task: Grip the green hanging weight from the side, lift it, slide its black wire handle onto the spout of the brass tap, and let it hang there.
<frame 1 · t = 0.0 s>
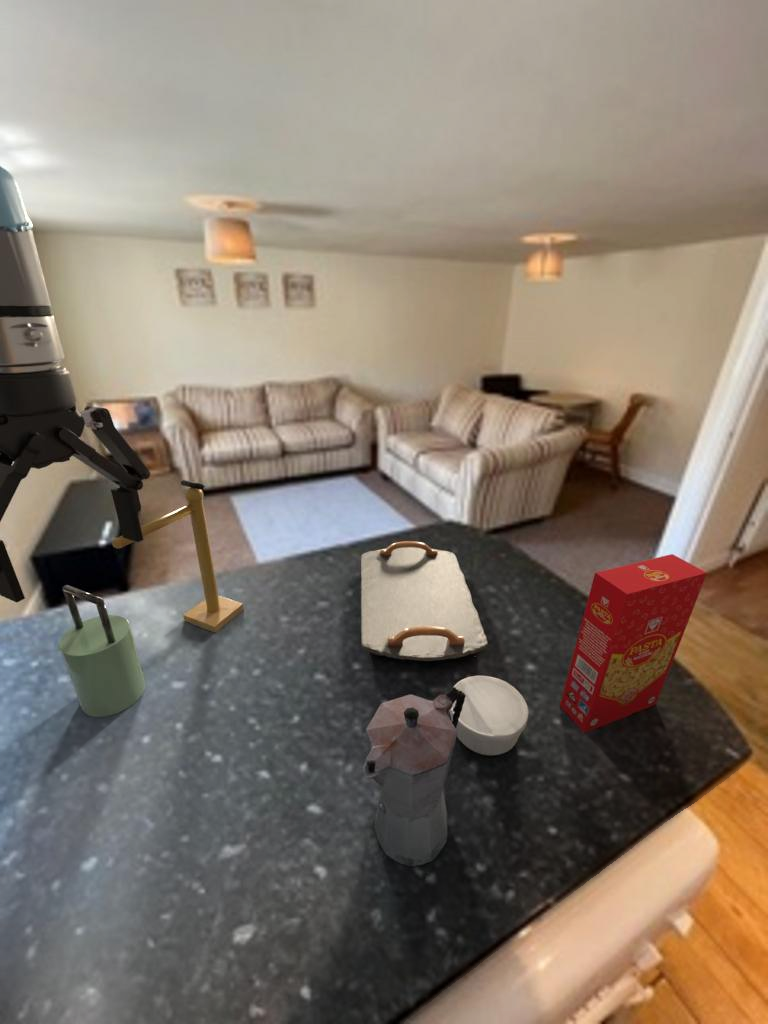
hand: (79, 564, 50), 30 cm above the worktop, tool pointing down, fingers open, 13 cm apart
moka pot: (411, 823, 55), on the worktop
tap: (214, 615, 89), on the worktop
serving tray: (415, 604, 94), on the worktop
green hanging weight: (114, 693, 71), on the worktop
ramekin: (483, 730, 67), on the worktop
food packaging: (607, 706, 71), on the worktop
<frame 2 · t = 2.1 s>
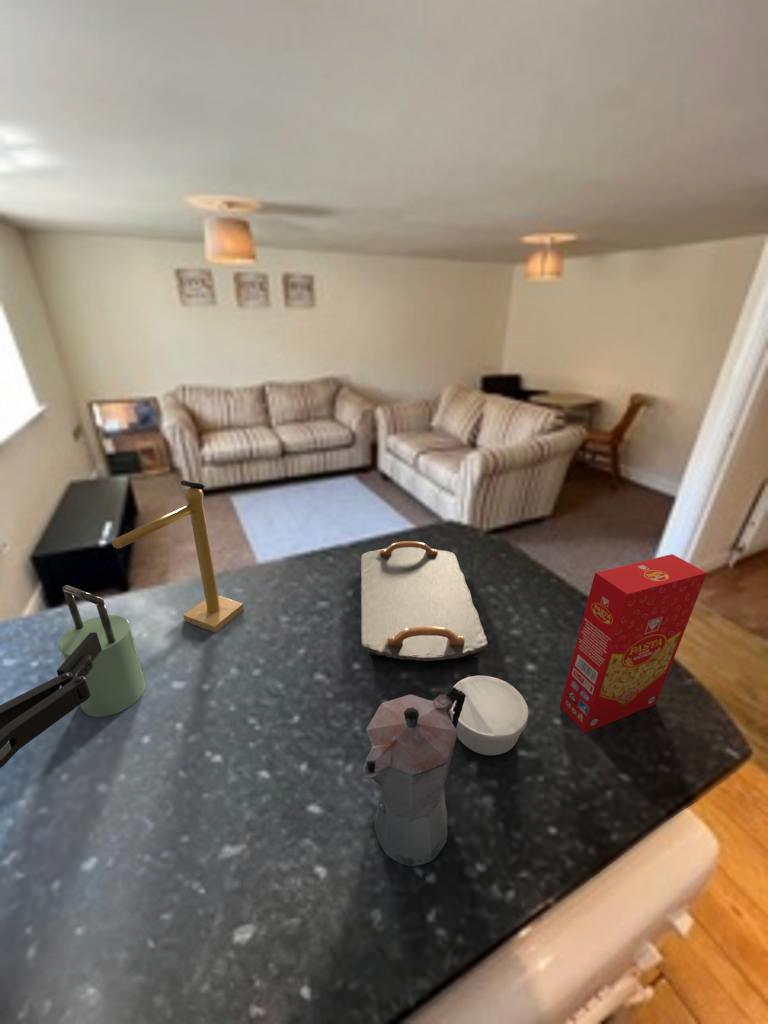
hand: (40, 642, 55), 18 cm above the worktop, tool horizontal, fingers open, 13 cm apart
nothing on the worktop moved.
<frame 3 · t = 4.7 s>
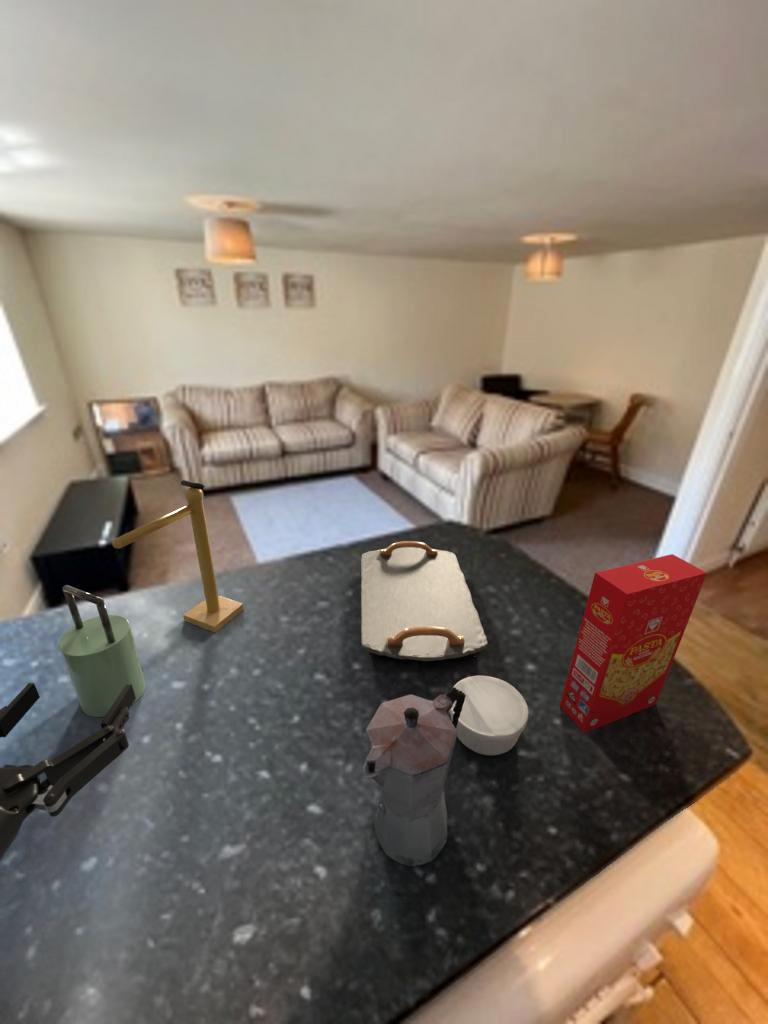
hand: (83, 690, 63), 6 cm above the worktop, tool horizontal, fingers open, 13 cm apart
nothing on the worktop moved.
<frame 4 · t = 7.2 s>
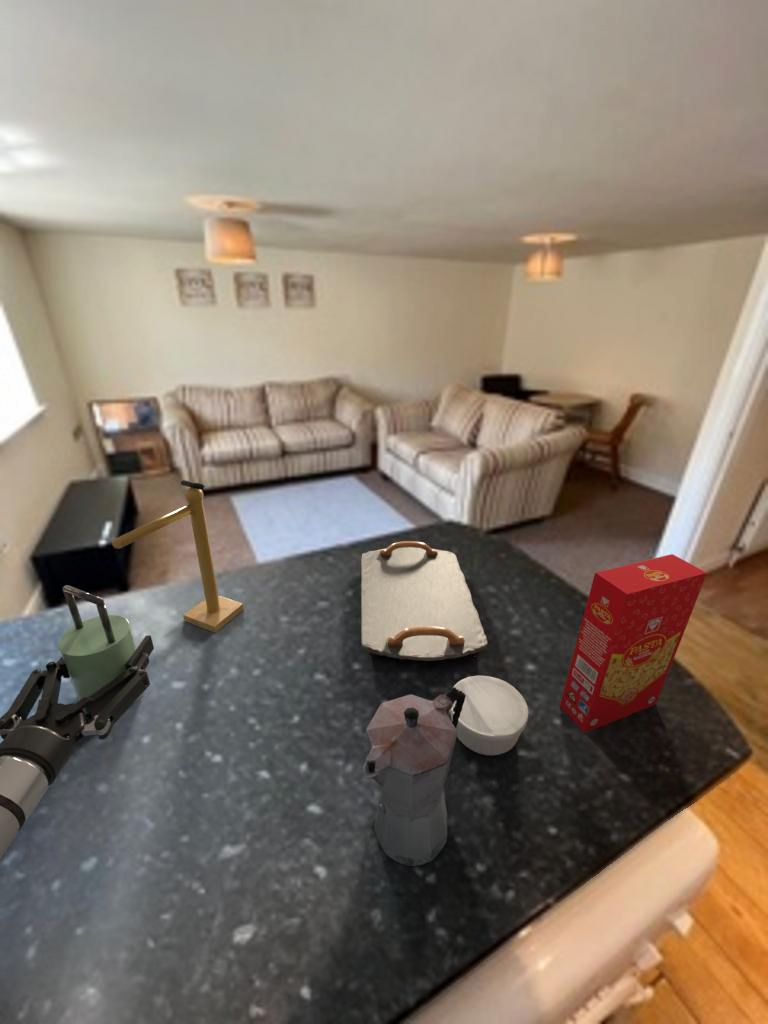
hand: (119, 641, 72), 7 cm above the worktop, tool horizontal, fingers closed on green hanging weight, 9 cm apart
green hanging weight: (114, 693, 71), on the worktop, touching gripper
everything else where it was.
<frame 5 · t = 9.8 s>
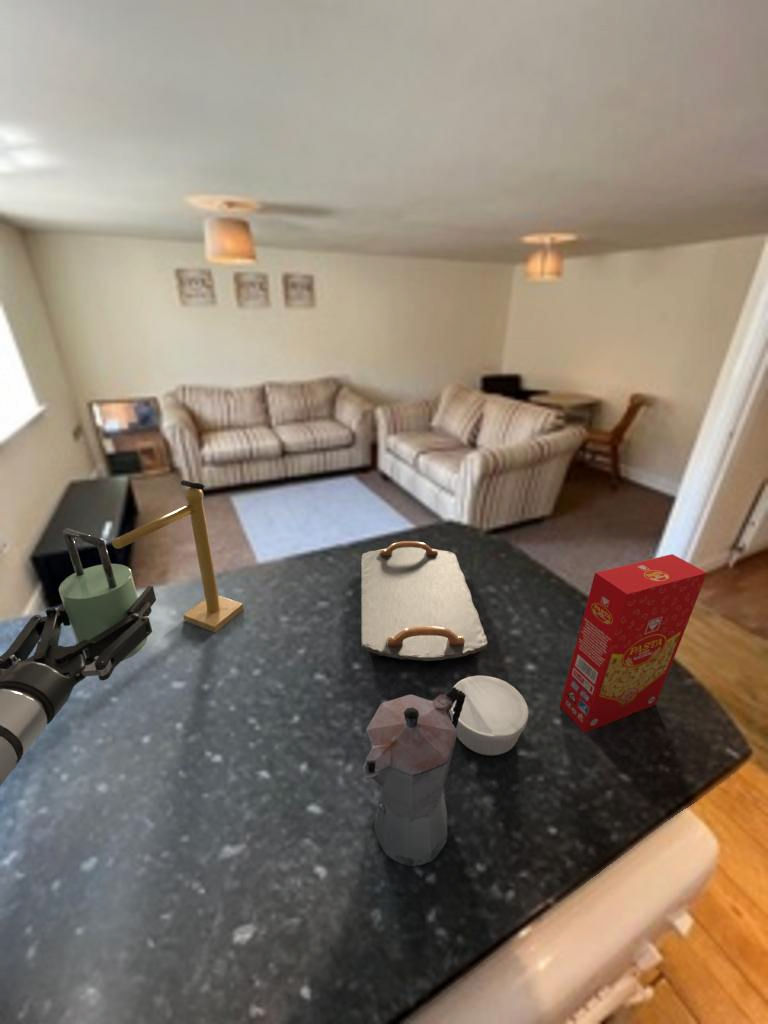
hand: (121, 592, 71), 15 cm above the worktop, tool horizontal, fingers closed on green hanging weight, 9 cm apart
green hanging weight: (115, 644, 69), point 8 cm above the worktop, touching gripper
everything else where it was.
when the fingers open (13 cm above the worktop, at t = 12.9 s): green hanging weight stays where it is, resting on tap.
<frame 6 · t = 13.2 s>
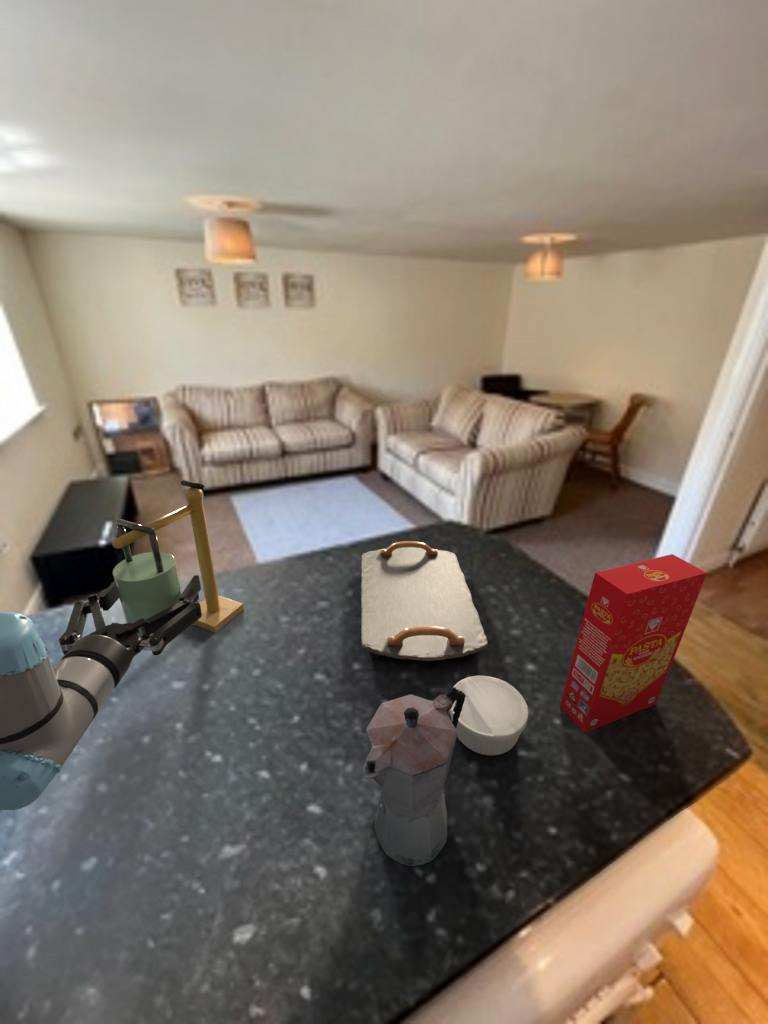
hand: (161, 581, 77), 13 cm above the worktop, tool horizontal, fingers open, 12 cm apart
green hanging weight: (158, 625, 77), point 6 cm above the worktop, touching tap
everything else where it was.
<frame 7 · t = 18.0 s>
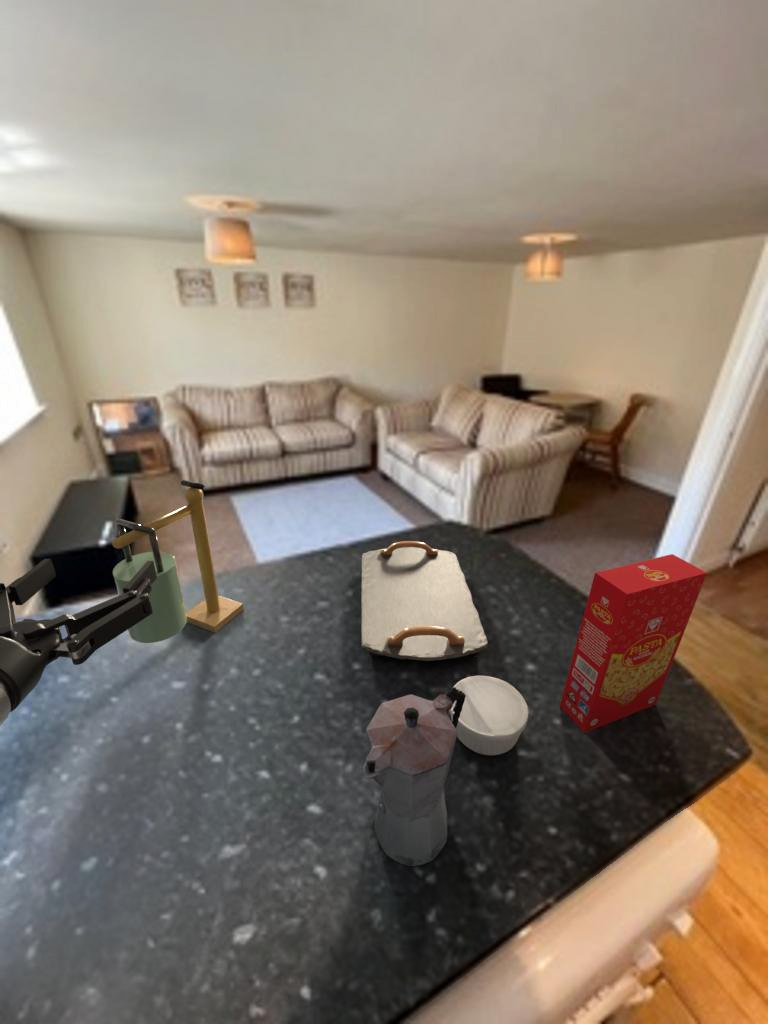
hand: (102, 568, 60), 24 cm above the worktop, tool horizontal, fingers open, 13 cm apart
nothing on the worktop moved.
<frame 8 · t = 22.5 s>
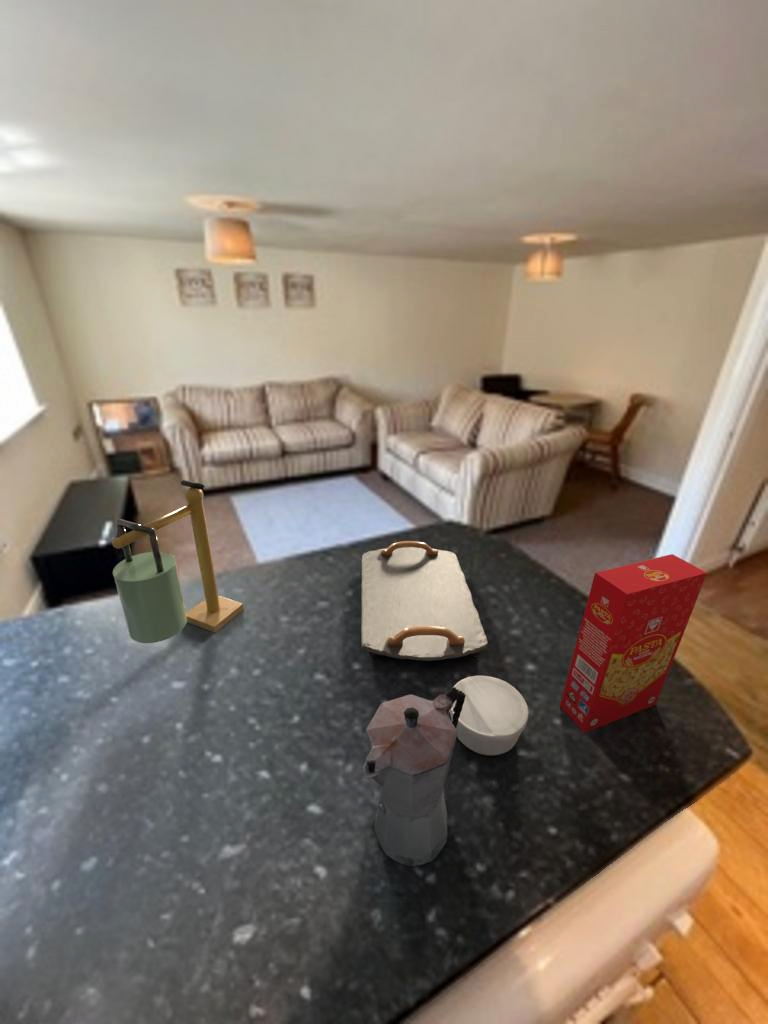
nothing on the worktop moved.
at the end: green hanging weight inside the target area (0.0 cm from its centre), point 6.3 cm above the worktop; green hanging weight touching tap; the gripper is holding nothing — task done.
